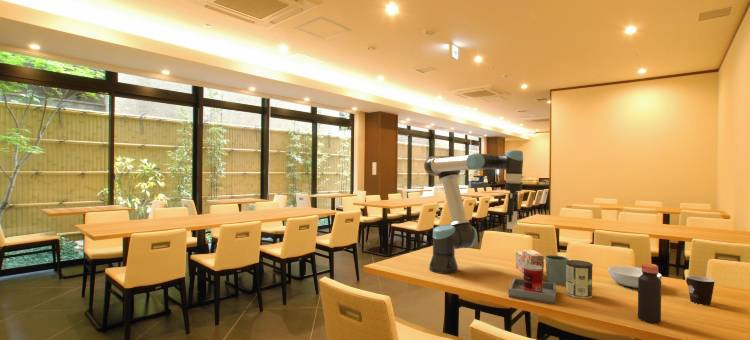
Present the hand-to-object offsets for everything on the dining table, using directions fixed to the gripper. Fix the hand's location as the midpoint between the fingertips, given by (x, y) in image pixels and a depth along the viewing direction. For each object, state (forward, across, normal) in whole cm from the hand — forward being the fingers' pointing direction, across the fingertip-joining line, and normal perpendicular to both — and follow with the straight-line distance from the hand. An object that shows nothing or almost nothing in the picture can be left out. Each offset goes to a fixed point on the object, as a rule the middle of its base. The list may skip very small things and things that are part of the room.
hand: (511, 226), depth 178 cm
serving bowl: (+27, +25, -53) cm, 64 cm away
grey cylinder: (+27, +13, -20) cm, 36 cm away
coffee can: (+27, -3, -29) cm, 40 cm away
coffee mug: (+26, +13, -74) cm, 79 cm away
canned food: (+26, -12, -11) cm, 31 cm away
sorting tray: (+27, -12, -11) cm, 31 cm away
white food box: (+28, +22, -7) cm, 36 cm away
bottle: (+26, -22, -51) cm, 61 cm away
